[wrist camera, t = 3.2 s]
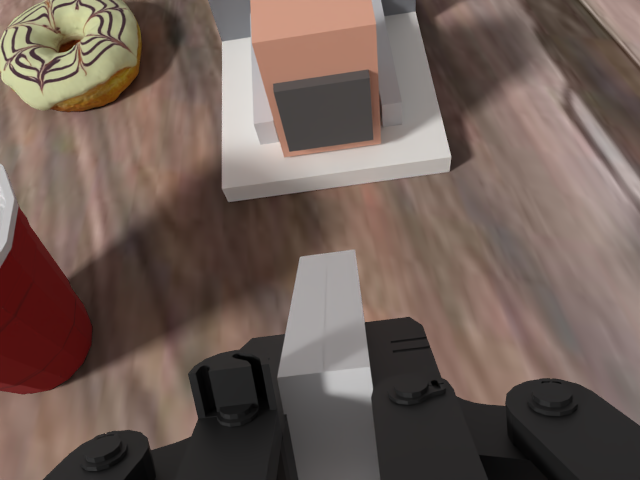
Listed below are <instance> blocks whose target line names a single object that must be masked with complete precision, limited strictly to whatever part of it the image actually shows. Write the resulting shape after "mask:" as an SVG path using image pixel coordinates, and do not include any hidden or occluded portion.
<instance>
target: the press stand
mask: <svg viewBox="0 0 640 480" xmlns="http://www.w3.org/2000/svg"><path fill="white" fill-rule="evenodd" d="M208 1H209V4H210V7H211V10H212V13H213V16H214V19H215V22H216V25H217V28H218V31H219V34H220V37H221V40H222V190H223V192H224V194H225V196H226V199H227V201H228V202H233V201H240V200H248V199H255V198H262V197H269V196H277V195H284V194H291V193H298V192H306V191H313V190H320V189H327V188H335V187H342V186H349V185H357V184H364V183H371V182H378V181H386V180H393V179H400V178H407V177H415V176H422V175H429V174H436V173H444V172H449V171H450V164H451V153H450V149H449V145H448V141H447V137H446V133H445V129H444V125H443V121H442V117H441V113H440V109H439V105H438V101H437V97H436V93H435V89H434V85H433V81H432V77H431V73H430V69H429V65H428V60H427V56H426V52H425V48H424V44H423V40H422V36H421V32H420V28H419V24H418V20H417V16H416V12H415V8H416V0H372V6H373V11H374V16H375V21H376V34H377V58H378V82H379V105H380V129H381V144H375V145H368V146H361V147H354V148H347V149H340V150H333V151H325V152H318V153H311V154H304V155H297V156H290V157H284V155H283V151H282V148H281V144H280V141H279V137H278V134H277V130H276V127H275V123H274V120H273V116H272V113H271V109H270V106H269V102H268V99H267V95H266V92H265V88H264V85H263V81H262V78H261V74H260V70H259V67H258V63H257V60H256V56H255V53H254V49H253V46H252V35H251V6H250V0H208Z"/></svg>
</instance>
